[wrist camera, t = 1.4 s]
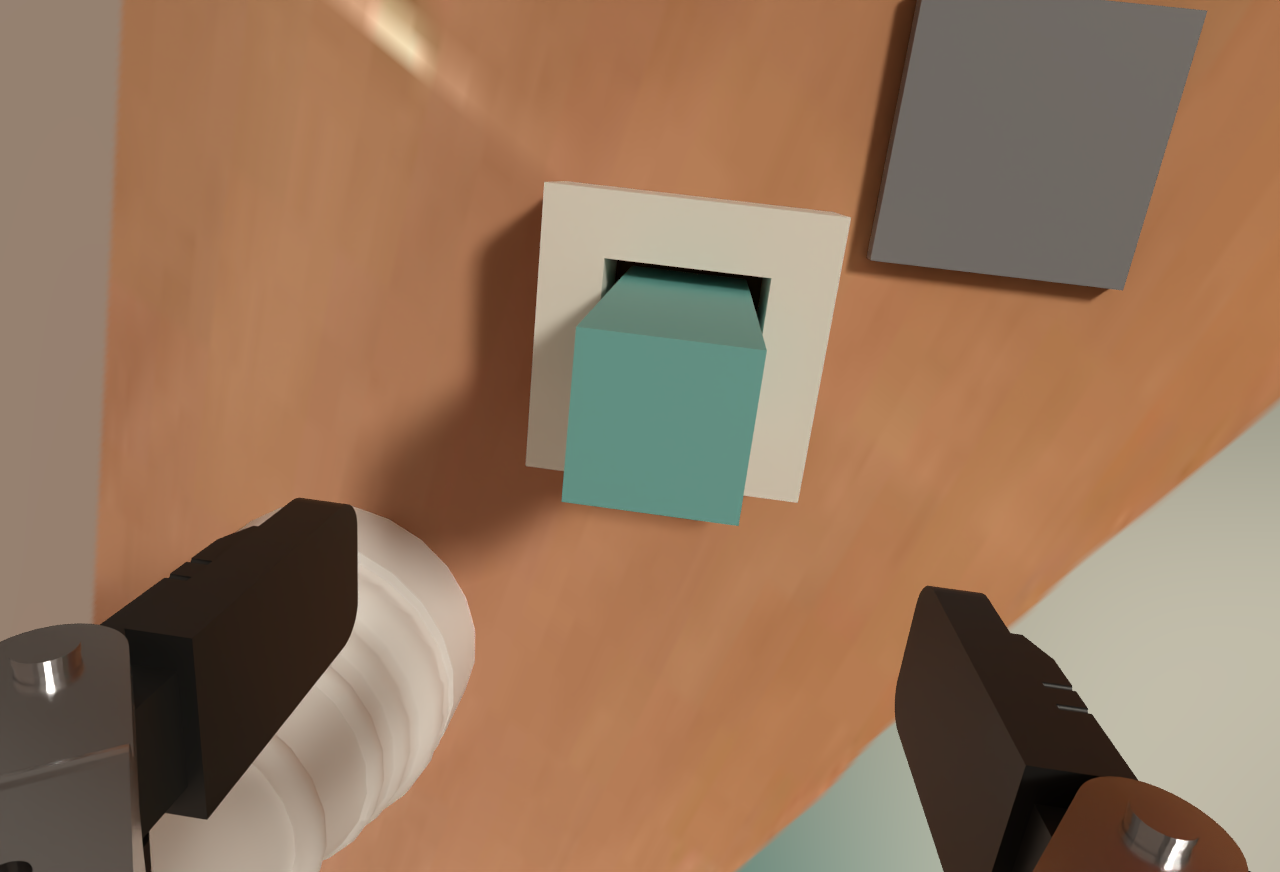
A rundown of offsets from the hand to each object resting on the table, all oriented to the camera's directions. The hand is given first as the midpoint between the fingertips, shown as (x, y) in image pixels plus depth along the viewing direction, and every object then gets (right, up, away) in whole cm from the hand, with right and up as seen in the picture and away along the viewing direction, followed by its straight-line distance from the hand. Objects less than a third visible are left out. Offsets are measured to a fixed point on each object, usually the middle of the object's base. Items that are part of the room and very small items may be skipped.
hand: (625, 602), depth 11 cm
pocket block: (+2, +7, +20) cm, 21 cm away
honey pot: (-14, -7, +26) cm, 30 cm away
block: (+2, +7, +20) cm, 21 cm away
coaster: (+14, +13, +17) cm, 25 cm away
